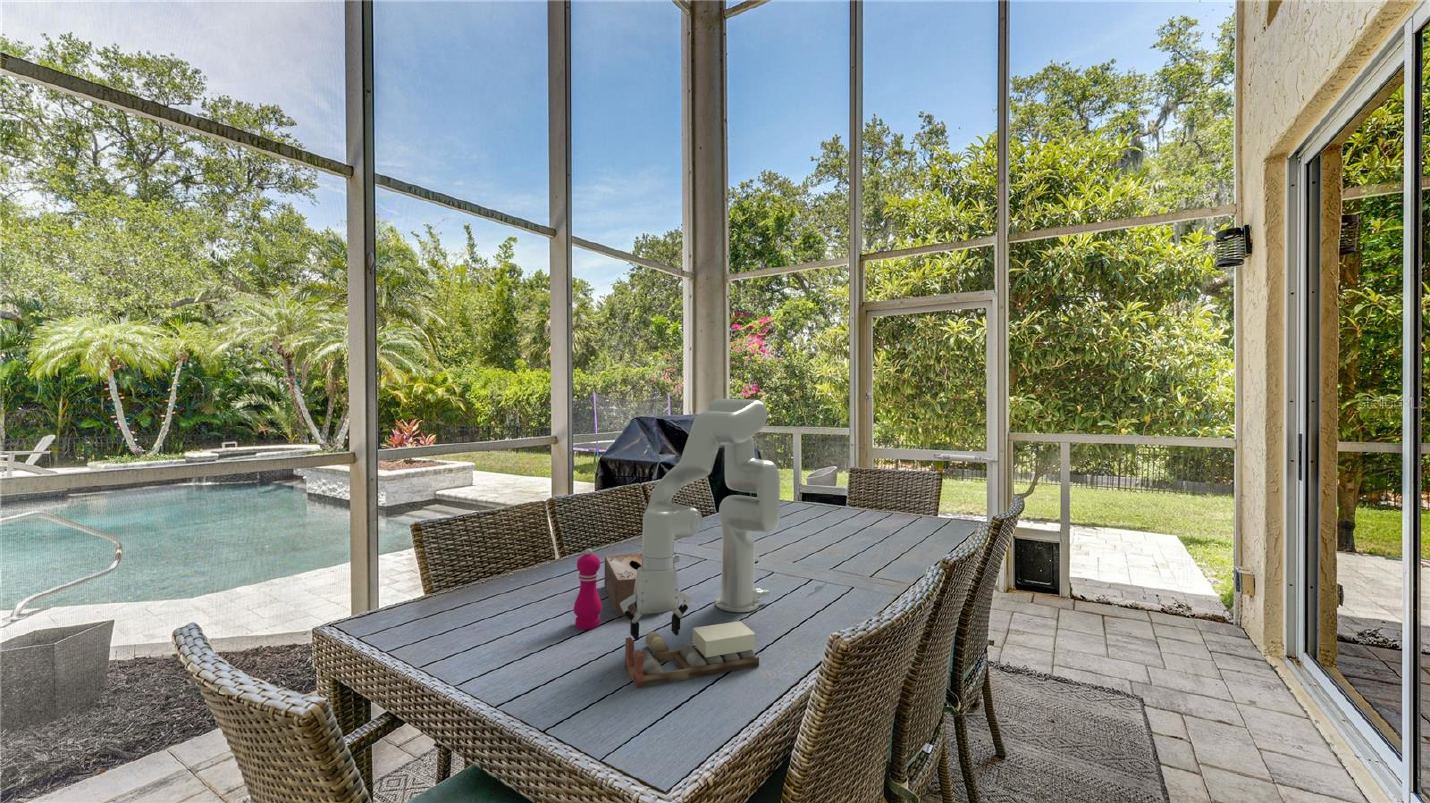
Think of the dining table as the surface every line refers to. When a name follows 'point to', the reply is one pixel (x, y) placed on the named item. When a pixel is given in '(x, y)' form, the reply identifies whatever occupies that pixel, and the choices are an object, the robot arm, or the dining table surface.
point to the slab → (723, 639)
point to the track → (681, 664)
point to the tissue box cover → (621, 578)
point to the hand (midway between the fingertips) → (655, 635)
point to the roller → (656, 643)
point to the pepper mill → (588, 592)
